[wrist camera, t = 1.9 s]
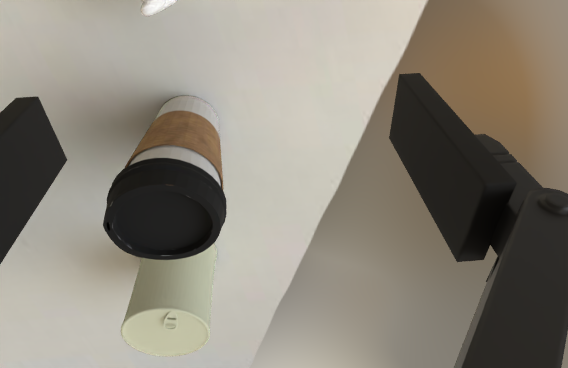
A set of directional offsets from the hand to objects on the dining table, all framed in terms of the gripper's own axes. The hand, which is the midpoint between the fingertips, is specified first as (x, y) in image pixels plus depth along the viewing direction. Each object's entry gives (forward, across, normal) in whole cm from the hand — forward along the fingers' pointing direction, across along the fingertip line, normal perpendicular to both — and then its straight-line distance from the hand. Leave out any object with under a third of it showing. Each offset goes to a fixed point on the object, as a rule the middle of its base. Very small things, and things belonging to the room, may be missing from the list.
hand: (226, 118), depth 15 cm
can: (+22, -11, -30) cm, 39 cm away
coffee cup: (+22, -6, -12) cm, 25 cm away
